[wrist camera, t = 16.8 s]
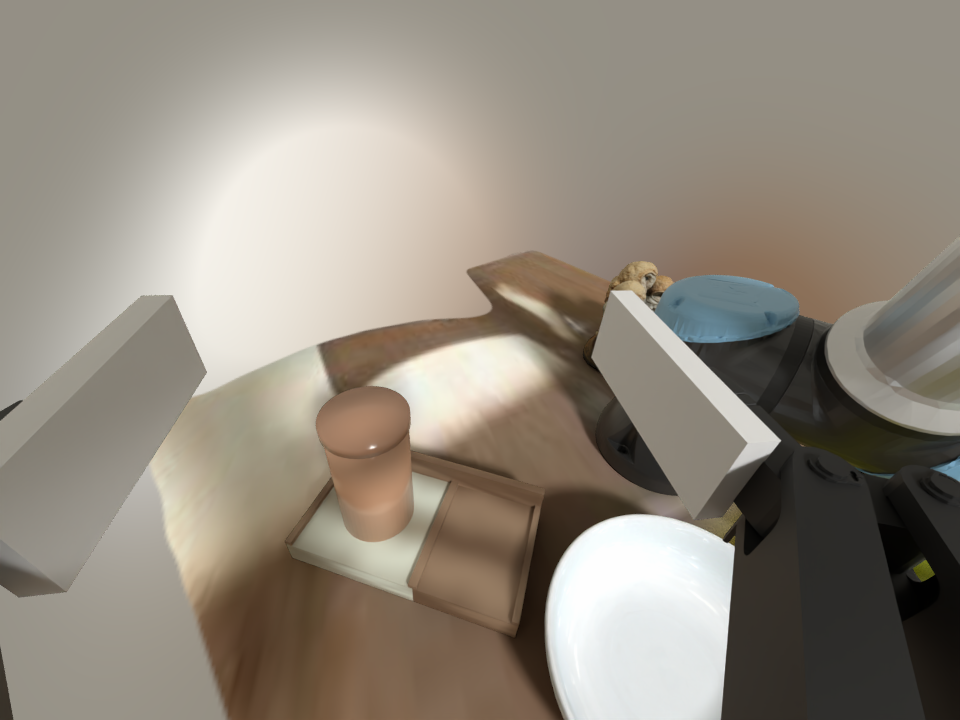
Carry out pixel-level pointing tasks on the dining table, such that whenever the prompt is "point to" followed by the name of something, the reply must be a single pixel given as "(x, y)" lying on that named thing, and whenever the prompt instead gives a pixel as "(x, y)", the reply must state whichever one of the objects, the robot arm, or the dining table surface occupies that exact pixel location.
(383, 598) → the dining table surface
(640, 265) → the owl figurine
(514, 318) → the dining table surface
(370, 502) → the canister
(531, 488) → the divided tray
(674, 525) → the serving bowl
